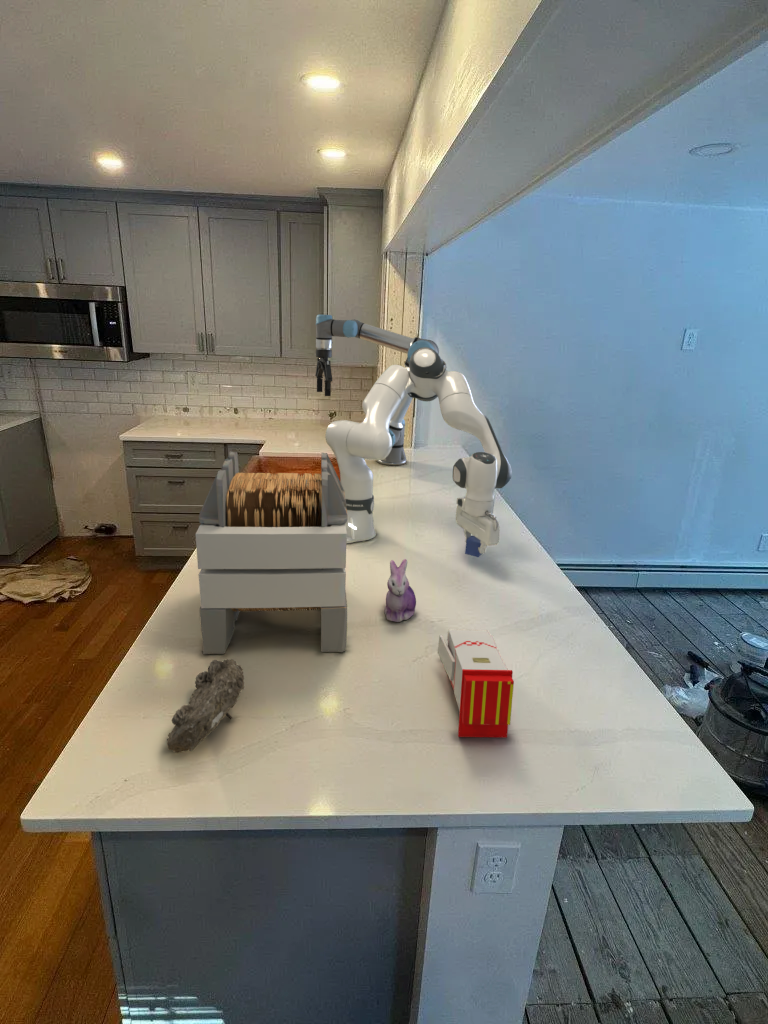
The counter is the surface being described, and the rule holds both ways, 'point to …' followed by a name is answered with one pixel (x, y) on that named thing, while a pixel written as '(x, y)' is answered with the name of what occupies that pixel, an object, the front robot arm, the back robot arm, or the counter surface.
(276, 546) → the transformer
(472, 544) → the brick
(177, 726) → the fossil
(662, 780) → the counter surface
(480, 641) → the toy
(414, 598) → the figurine
